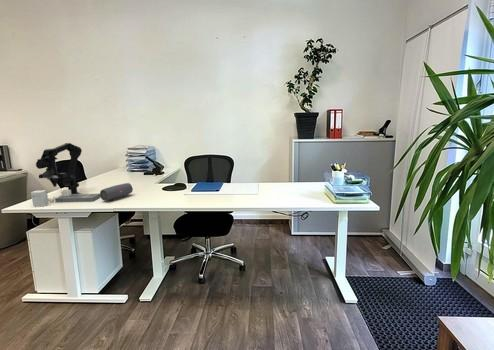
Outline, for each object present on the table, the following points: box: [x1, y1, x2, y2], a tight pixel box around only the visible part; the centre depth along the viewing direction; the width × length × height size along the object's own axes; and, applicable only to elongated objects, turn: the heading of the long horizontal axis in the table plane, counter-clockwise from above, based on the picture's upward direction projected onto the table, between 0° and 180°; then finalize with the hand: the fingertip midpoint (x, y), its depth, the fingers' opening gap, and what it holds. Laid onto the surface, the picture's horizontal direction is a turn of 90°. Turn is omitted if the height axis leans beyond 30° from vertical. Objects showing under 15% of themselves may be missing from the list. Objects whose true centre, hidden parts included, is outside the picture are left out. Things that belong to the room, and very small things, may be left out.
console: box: [54, 192, 100, 203], centre depth 232 cm, size 12×28×3 cm, turn 87°
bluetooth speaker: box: [99, 182, 134, 202], centre depth 232 cm, size 23×9×10 cm, turn 151°
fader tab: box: [60, 189, 71, 197], centre depth 232 cm, size 4×5×4 cm
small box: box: [30, 189, 50, 207], centre depth 220 cm, size 8×6×10 cm
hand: (55, 186), depth 231 cm, fingers closed
